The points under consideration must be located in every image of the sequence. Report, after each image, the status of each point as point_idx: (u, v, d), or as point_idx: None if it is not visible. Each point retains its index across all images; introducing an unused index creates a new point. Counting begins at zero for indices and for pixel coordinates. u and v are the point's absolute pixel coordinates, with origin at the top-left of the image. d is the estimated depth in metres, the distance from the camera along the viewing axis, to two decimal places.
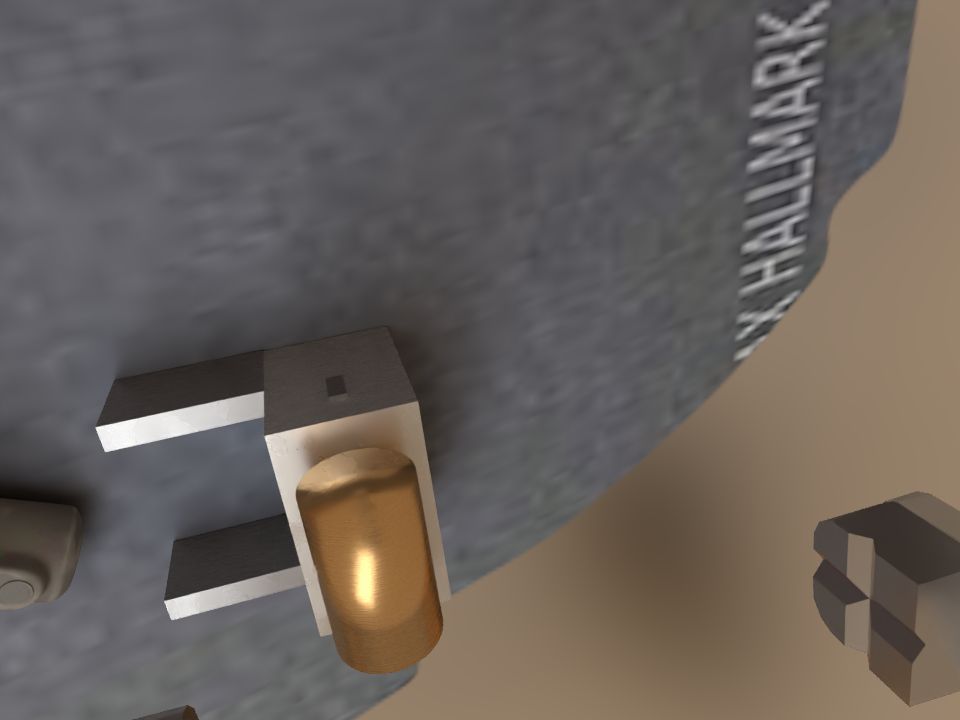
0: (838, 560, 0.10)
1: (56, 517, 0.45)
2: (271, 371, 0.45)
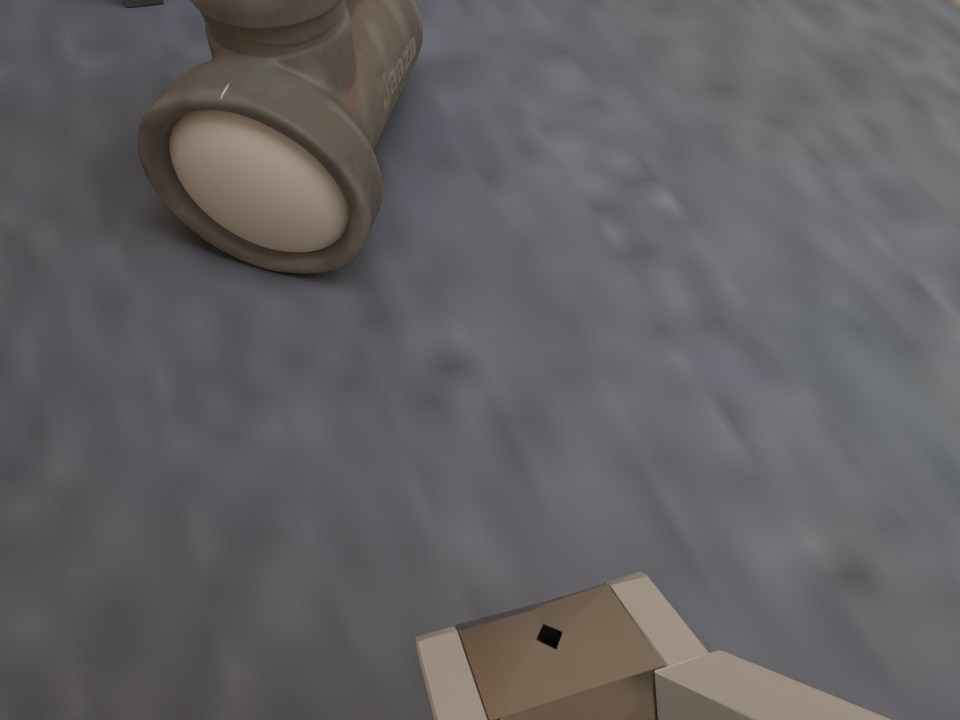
0: None
1: None
2: None
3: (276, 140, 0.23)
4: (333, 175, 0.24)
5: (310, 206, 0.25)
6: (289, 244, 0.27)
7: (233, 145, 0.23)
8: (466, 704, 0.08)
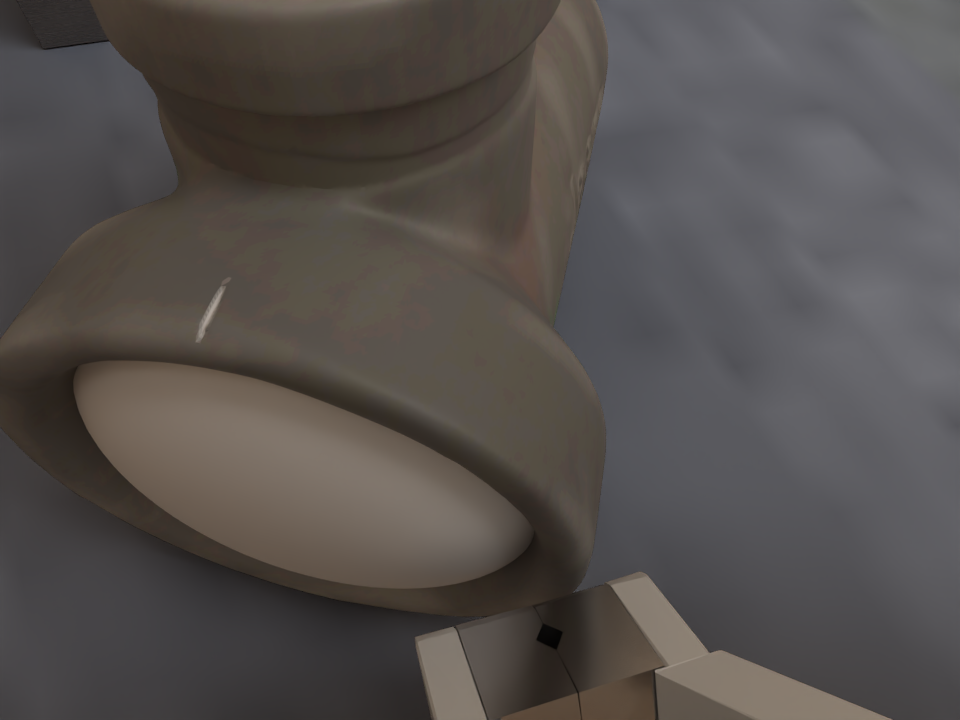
0: None
1: None
2: None
3: (366, 432, 0.08)
4: (527, 514, 0.08)
5: (444, 555, 0.10)
6: None
7: (240, 441, 0.08)
8: (466, 705, 0.08)
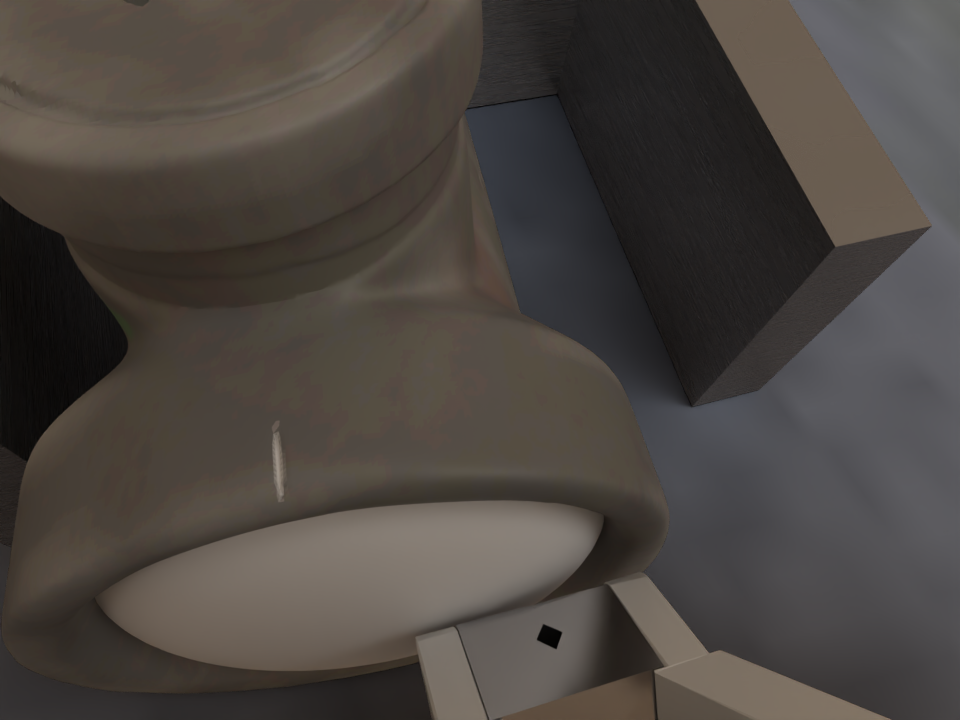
0: None
1: None
2: None
3: (455, 510, 0.08)
4: (621, 518, 0.08)
5: (538, 585, 0.09)
6: None
7: (329, 573, 0.08)
8: (466, 704, 0.08)
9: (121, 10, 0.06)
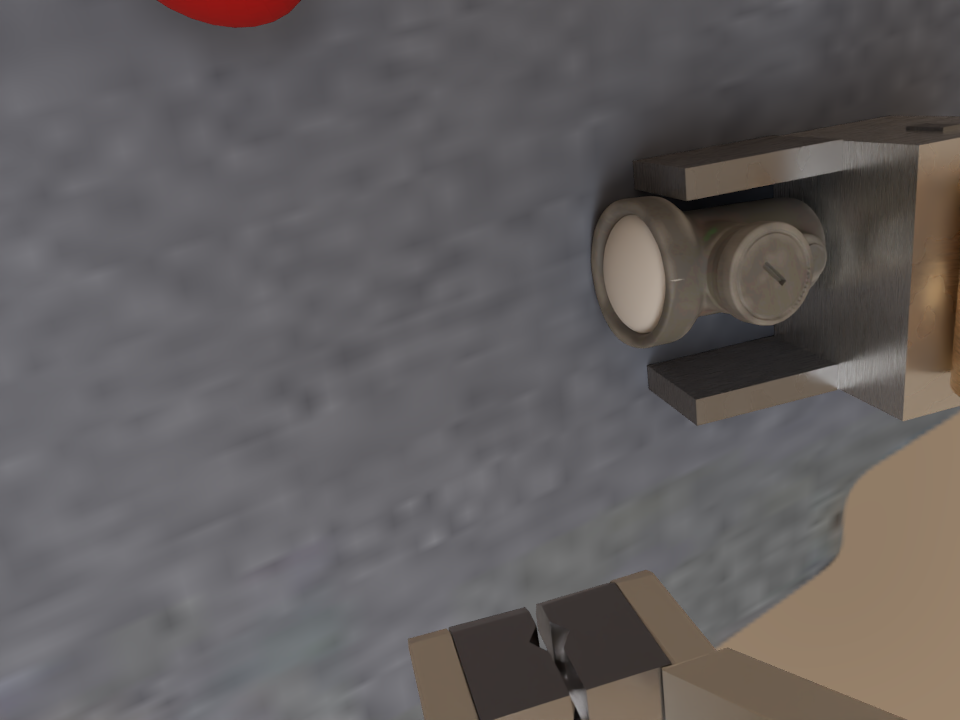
0: (550, 647, 0.09)
1: (782, 199, 0.42)
2: (818, 137, 0.41)
3: (658, 305, 0.38)
4: (647, 337, 0.39)
5: (629, 316, 0.40)
6: (607, 289, 0.42)
7: (649, 279, 0.38)
8: (458, 707, 0.08)
9: (762, 263, 0.36)
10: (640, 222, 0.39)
